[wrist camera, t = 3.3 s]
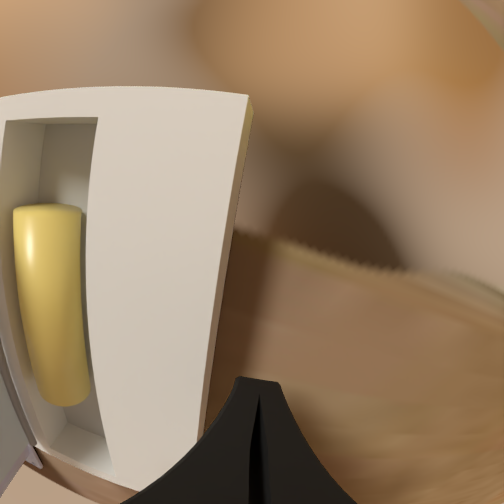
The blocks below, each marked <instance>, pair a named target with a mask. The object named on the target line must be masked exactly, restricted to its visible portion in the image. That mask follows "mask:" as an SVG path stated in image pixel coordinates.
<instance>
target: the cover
mask: <svg viewBox="0 0 504 504" xmlns="http://www.w3.org/2000/svg"><path fill="white" fill-rule="evenodd" d="M28 444H30V445H31V446H36V445H37V440H36V438H35V436H34V434H33V432H32V429H31V427H30V425H29V422H28V420H27V418H26V415H25V413H24V410H23V408H22V405H21V402H20V400H19V397H18V394H17V392H16V389H15V386H14V383H13V380H12V377H11V374H10V370H9V367H8V364H7V360H6V357H5V353H4V349H3V346H2V342H1V338H0V484H1V482H2V481H3V479H4V478H5V476H6V475H7V473H8V472H9V471H10V469H11V468H12V466H13V465H14V463H15V462H16V461H17V459H18V458H19V456H20V455H21V454H22V452H23V451H24V449H25V448H26V447H27V445H28Z"/></svg>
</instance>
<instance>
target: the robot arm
mask: <svg viewBox="0 0 504 504" xmlns="http://www.w3.org/2000/svg"><path fill="white" fill-rule="evenodd" d="M25 460H26V461H27V462H29V463H31V464H33V465H34V466H36V467H38V468H40V469H42V467H43V465H42V463H41V461H40V459H39V458H38V456H37V454H36V452H35V450H34V448H33V446H31V445H30V444H28V445H27V447H26V448H25V449H24V451H23V452H22V454H21V455H20V456H19V458H18V459H17V461H16V462H15V463H14V465H13V466H12V468H11V469H10V471H9V472H8V473H7V475H6V476H5V478H4V479H3V481H2V482H1V484H0V497H1V496H2V494H3V493H4V491H5V490H6V488H7V487H8V485H9V484H10V482H11V481H12V479H13V478H14V476H15V475H16V473H17V472H18V470H19V468H20V467H21V466H22V464H23V463H24V461H25ZM120 504H357V503H356V502H355V501H354V500H353V499H352V498H351V497H350V496H349V495H348V494H347V493H346V492H345V491H344V490H343V489H342V488H341V487H340V486H339V485H338V484H337V483H336V481H335V480H334V479H333V478H332V477H331V476H330V474H329V473H328V472H327V471H326V469H325V468H324V467H323V465H322V464H321V463H320V461H319V460H318V458H317V457H316V455H315V454H314V452H313V451H312V449H311V448H310V446H309V445H308V443H307V441H306V440H305V438H304V436H303V434H302V433H301V431H300V429H299V427H298V425H297V423H296V421H295V419H294V417H293V415H292V413H291V411H290V409H289V406H288V404H287V402H286V399H285V397H284V394H283V392H282V389H281V386H280V384H279V383H278V382H273V381H266V380H260V379H253V378H247V377H242V376H239V377H237V378H236V380H235V384H234V387H233V389H232V392H231V394H230V396H229V398H228V399H227V401H226V403H225V405H224V406H223V408H222V410H221V411H220V413H219V414H218V416H217V417H216V419H215V420H214V422H213V423H212V424H211V426H210V427H209V428H208V429H207V431H206V432H205V433H204V435H203V436H202V437H201V438H200V439H199V441H198V442H197V443H196V444H195V445H194V446H193V447H192V448H191V449H190V450H189V451H188V452H187V453H186V454H185V455H184V457H182V458H181V459H180V460H179V461H178V462H177V463H176V464H175V465H174V466H173V467H172V468H170V469H169V470H168V471H167V472H166V473H165V474H163V475H162V476H161V477H160V478H158V479H157V480H156V481H154V482H153V483H151V484H150V485H149V486H147V487H146V488H144V489H143V490H141V491H140V492H138V493H137V494H136V495H134V496H132V497H131V498H129V499H127V500H126V501H124V502H122V503H120Z"/></svg>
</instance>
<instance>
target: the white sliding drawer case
mask: <svg viewBox="0 0 504 504" xmlns="http://www.w3.org/2000/svg"><path fill="white" fill-rule="evenodd" d="M253 115H254V112H253V109H252V105H251V102H250V98H249V95H244V94H236V93H228V92H220V91H211V90H199V89H187V88H171V87H146V86H145V87H144V86H142V87H141V86H110V87H109V86H108V87H84V88H70V89H57V90H47V91H39V92H31V93H24V94H17V95H11V96H5V97H0V338H1V342H2V346H3V349H4V353H5V357H6V360H7V364H8V367H9V370H10V374H11V377H12V380H13V383H14V386H15V389H16V392H17V394H18V397H19V400H20V402H21V405H22V408H23V410H24V413H25V415H26V418H27V420H28V422H29V425H30V427H31V429H32V432H33V434H34V436H35V438H36V440H37V445H36V446H35V447H37V448H39V449H40V450H42V451H44V452H46V453H48V454H50V455H52V456H54V457H56V458H58V459H60V460H62V461H64V462H66V463H68V464H70V465H72V466H74V467H77V468H79V469H81V470H83V471H86V472H88V473H90V474H93V475H95V476H98V477H100V478H103V479H105V480H108V481H110V482H113V483H116V484H119V485H121V486H124V487H127V488H130V489H133V490H136V491H141V490H143V489H144V488H146V487H147V486H149V485H150V484H151V483H153V482H154V481H156V480H157V479H158V478H160V477H161V476H162V475H163V474H165V473H166V472H167V471H168V470H169V469H170V468H172V467H173V466H174V465H175V464H176V463H177V462H178V461H179V460H180V459H181V458H182V457H184V455H185V454H186V453H187V452H188V451H189V450H190V449H191V448H192V447H193V446H194V445H195V444H196V443H197V442H198V441H199V439H200V438H201V437H202V436H203V431H204V424H205V416H206V408H207V401H208V393H209V386H210V379H211V372H212V365H213V358H214V351H215V344H216V337H217V330H218V323H219V317H220V310H221V304H222V297H223V291H224V284H225V278H226V272H227V265H228V259H229V253H230V247H231V241H232V234H233V228H234V222H235V216H236V211H237V205H238V198H239V192H240V187H241V182H242V175H243V170H244V164H245V159H246V153H247V147H248V142H249V137H250V131H251V126H252V120H253ZM35 203H61V204H68V205H73V206H77V207H79V208H81V210H82V214H81V239H80V277H81V302H82V318H83V330H84V340H85V349H86V357H87V365H88V372H89V378H90V385H91V390H90V393H89V395H88V397H87V398H86V399H85V400H84V401H82V402H81V403H79V404H76V405H73V406H67V407H62V406H56V405H53V404H50V403H48V402H47V401H45V400H44V399H43V398H42V397H41V395H40V393H39V391H38V387H37V384H36V380H35V377H34V373H33V369H32V365H31V361H30V357H29V353H28V348H27V344H26V339H25V334H24V329H23V323H22V318H21V311H20V305H19V298H18V290H17V281H16V271H15V258H14V239H13V210H14V209H15V208H17V207H19V206H23V205H28V204H35Z"/></svg>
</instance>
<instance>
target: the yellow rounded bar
mask: <svg viewBox="0 0 504 504" xmlns="http://www.w3.org/2000/svg"><path fill="white" fill-rule="evenodd" d="M81 214H82V210H81V208H79V207H77V206H73V205H68V204H61V203H35V204H28V205H23V206H19V207H17V208H15V209H14V210H13V239H14V258H15V271H16V281H17V290H18V298H19V305H20V311H21V318H22V323H23V329H24V334H25V339H26V344H27V348H28V353H29V357H30V361H31V365H32V369H33V373H34V377H35V380H36V384H37V387H38V391H39V393H40V395H41V397H42V398H43V399H44V400H45V401H47V402H48V403H50V404H53V405H56V406H62V407H67V406H73V405H76V404H79V403H81V402H82V401H84V400H85V399H86V398H87V397H88V395H89V393H90V390H91V385H90V378H89V372H88V365H87V357H86V349H85V340H84V330H83V318H82V302H81V277H80V239H81Z"/></svg>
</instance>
